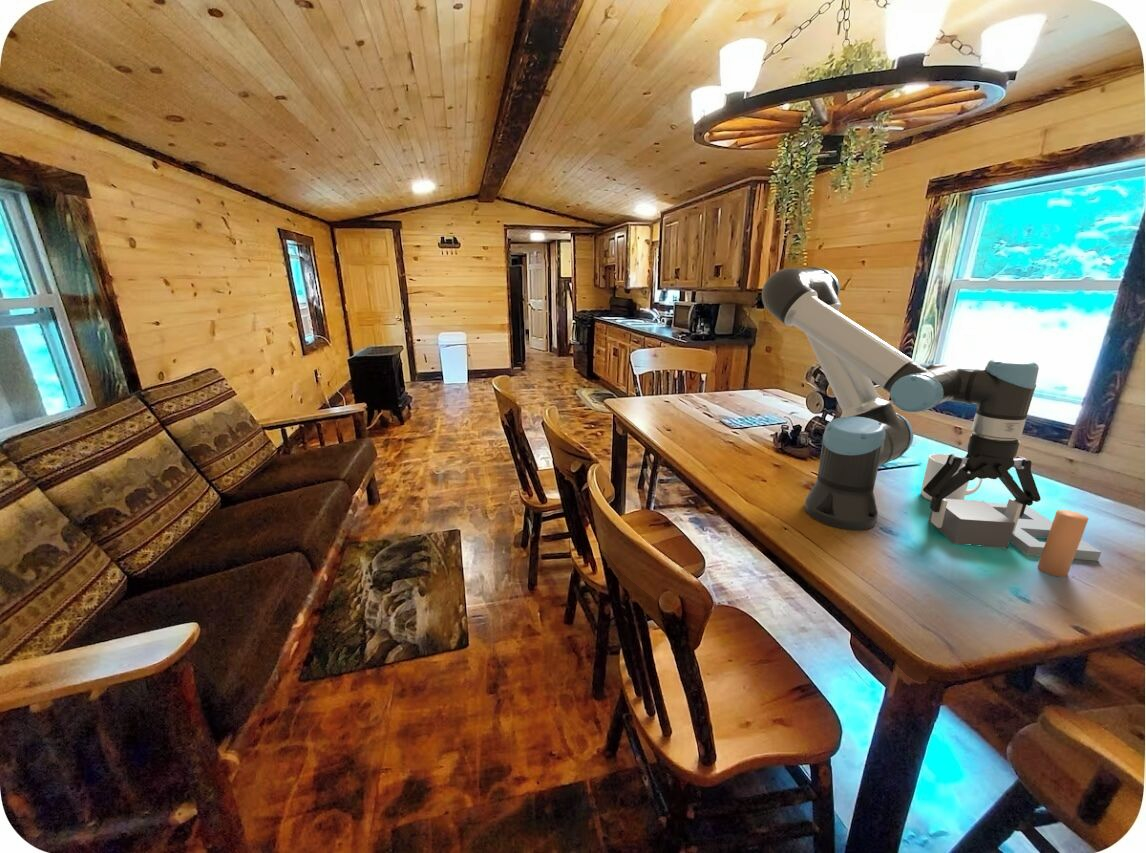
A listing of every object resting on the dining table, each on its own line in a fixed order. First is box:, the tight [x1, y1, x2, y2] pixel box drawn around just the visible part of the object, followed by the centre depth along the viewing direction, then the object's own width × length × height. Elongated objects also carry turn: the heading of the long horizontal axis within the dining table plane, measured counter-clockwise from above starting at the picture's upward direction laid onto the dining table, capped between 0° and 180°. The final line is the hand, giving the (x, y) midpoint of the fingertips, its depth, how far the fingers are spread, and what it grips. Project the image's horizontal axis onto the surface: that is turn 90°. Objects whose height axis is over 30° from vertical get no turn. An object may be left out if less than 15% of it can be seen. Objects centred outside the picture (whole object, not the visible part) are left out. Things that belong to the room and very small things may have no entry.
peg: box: [1037, 509, 1089, 578], centre depth 83 cm, size 4×4×12 cm
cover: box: [928, 499, 1015, 549], centre depth 97 cm, size 10×10×6 cm
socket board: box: [985, 501, 1102, 562], centre depth 98 cm, size 12×20×2 cm, turn 168°
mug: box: [920, 453, 983, 502], centre depth 112 cm, size 9×12×11 cm
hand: (971, 527), depth 97 cm, fingers open, 13 cm apart
